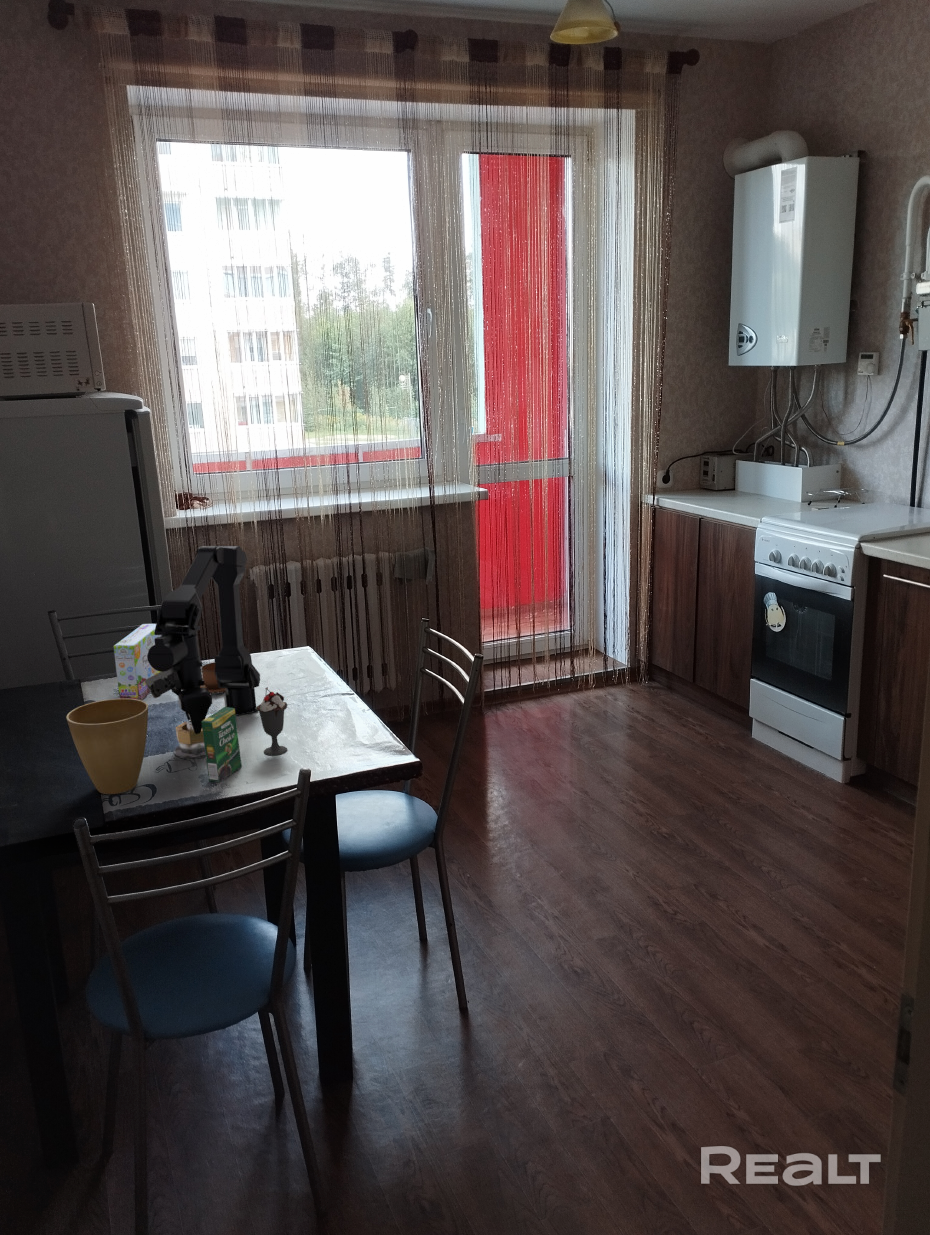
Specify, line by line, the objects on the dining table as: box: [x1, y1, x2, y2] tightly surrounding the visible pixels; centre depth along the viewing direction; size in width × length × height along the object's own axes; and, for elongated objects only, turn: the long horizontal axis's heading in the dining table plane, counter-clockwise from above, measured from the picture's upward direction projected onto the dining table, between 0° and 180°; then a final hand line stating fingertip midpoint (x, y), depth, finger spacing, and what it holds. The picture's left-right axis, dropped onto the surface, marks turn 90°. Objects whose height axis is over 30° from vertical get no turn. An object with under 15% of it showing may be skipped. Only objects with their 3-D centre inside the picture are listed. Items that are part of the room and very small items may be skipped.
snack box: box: [113, 623, 162, 701], centre depth 245 cm, size 21×6×15 cm, turn 179°
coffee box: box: [202, 706, 243, 783], centre depth 191 cm, size 8×3×13 cm, turn 159°
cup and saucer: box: [200, 661, 226, 694], centre depth 245 cm, size 12×12×6 cm
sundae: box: [255, 687, 288, 756], centre depth 202 cm, size 7×7×15 cm
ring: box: [175, 721, 204, 744], centre depth 205 cm, size 7×7×2 cm
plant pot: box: [66, 698, 149, 795], centre depth 188 cm, size 15×15×16 cm
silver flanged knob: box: [174, 720, 206, 760], centre depth 205 cm, size 9×9×6 cm
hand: (193, 726), depth 205 cm, fingers open, 9 cm apart
